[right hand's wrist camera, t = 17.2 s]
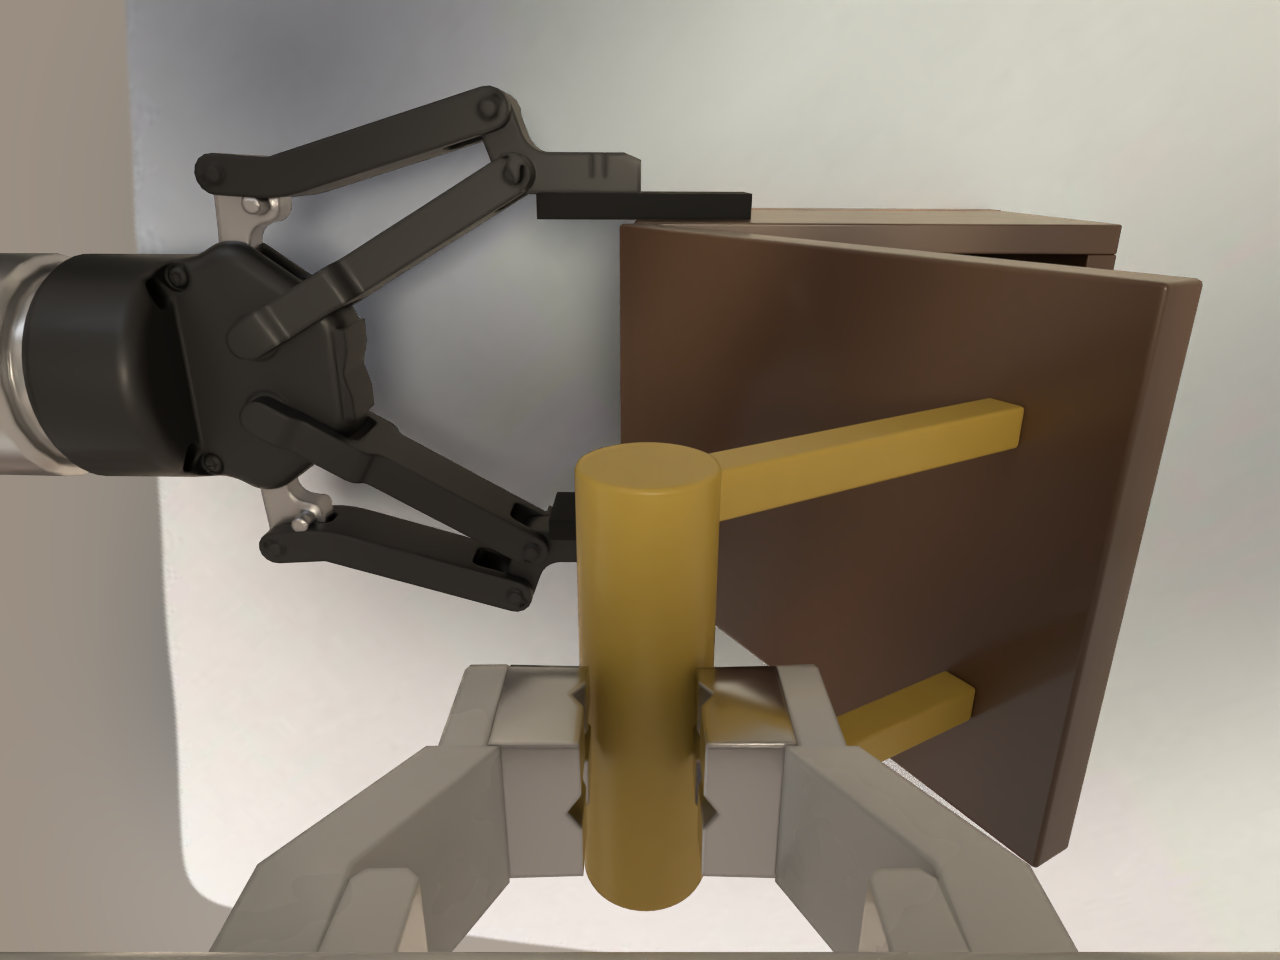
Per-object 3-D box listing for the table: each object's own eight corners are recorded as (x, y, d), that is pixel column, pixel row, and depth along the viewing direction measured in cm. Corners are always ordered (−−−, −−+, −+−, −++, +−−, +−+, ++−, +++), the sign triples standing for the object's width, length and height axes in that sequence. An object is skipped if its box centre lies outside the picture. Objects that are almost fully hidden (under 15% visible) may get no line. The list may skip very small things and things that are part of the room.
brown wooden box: (989, 209, 32) (1123, 224, 23) (954, 451, 36) (1058, 549, 27) (640, 207, 33) (634, 221, 23) (639, 448, 36) (633, 544, 27)
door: (1207, 278, 11) (685, 337, 7) (1069, 848, 15) (667, 1110, 11) (648, 222, 23) (330, 233, 19) (646, 547, 27) (377, 616, 22)
